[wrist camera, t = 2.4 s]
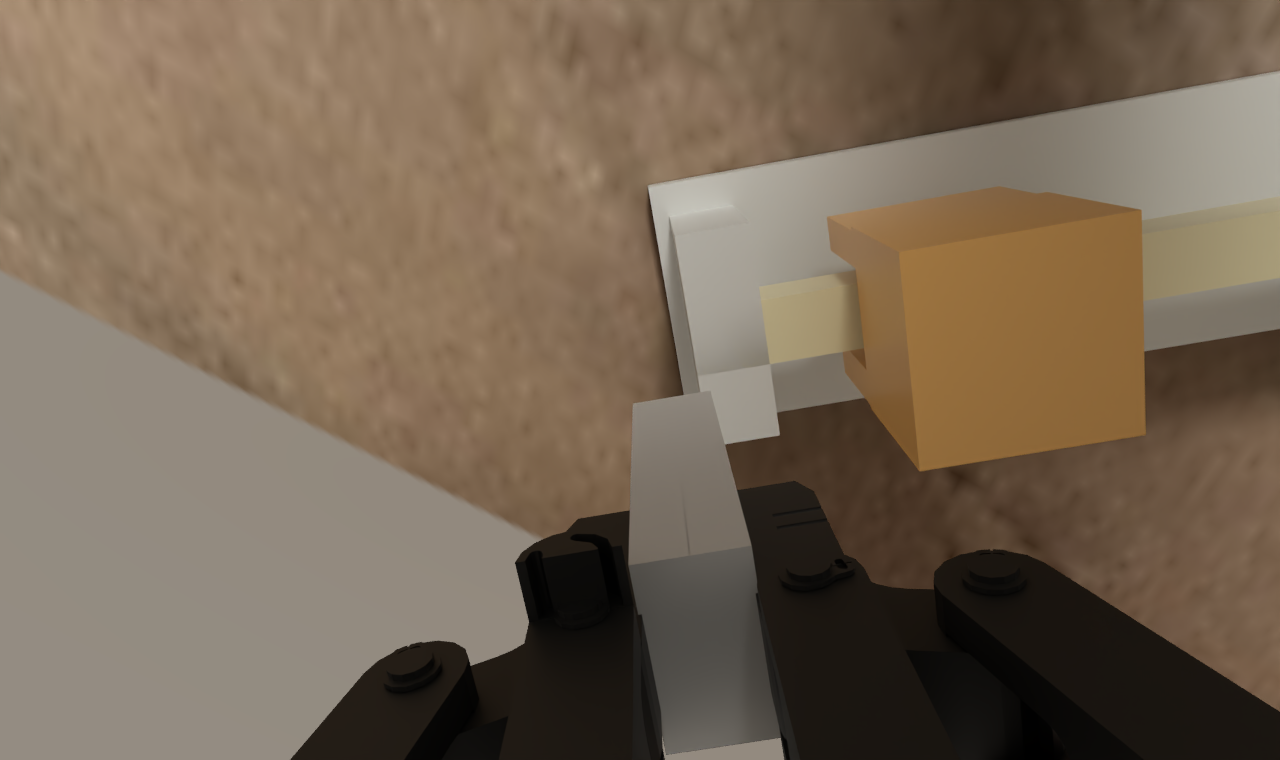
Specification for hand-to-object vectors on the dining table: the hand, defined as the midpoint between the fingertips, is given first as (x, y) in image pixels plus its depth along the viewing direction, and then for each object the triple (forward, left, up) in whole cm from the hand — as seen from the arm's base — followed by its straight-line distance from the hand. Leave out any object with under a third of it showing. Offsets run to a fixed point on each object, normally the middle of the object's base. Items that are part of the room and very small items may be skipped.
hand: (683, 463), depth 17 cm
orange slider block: (0, +8, -10) cm, 13 cm away
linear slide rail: (0, +15, -13) cm, 20 cm away
